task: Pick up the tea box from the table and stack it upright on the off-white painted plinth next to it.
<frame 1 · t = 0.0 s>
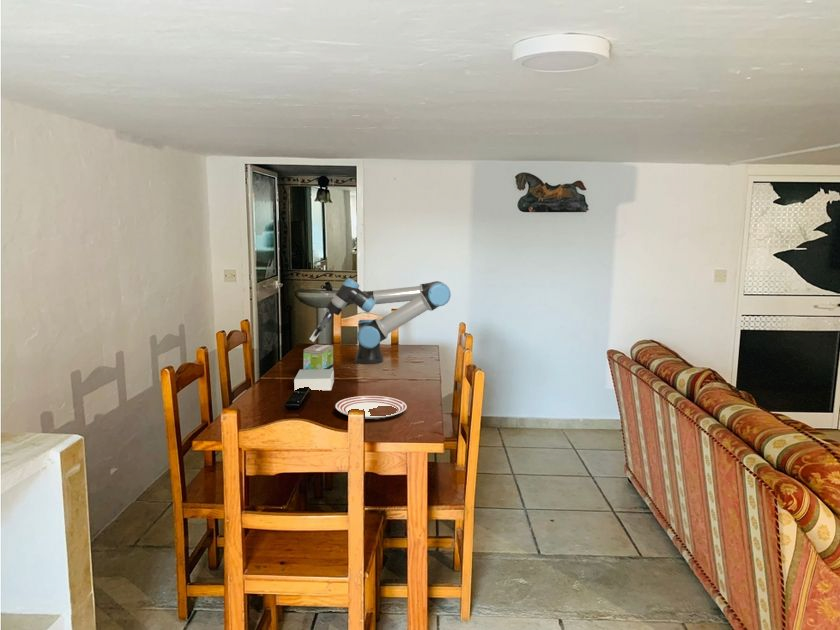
hand: (312, 338, 296), 15 cm above the table, tool tilted 35°, fingers open, 13 cm apart
dinner plate: (371, 413, 221), on the table
tea box: (318, 377, 278), on the table
plinth: (314, 386, 260), on the table
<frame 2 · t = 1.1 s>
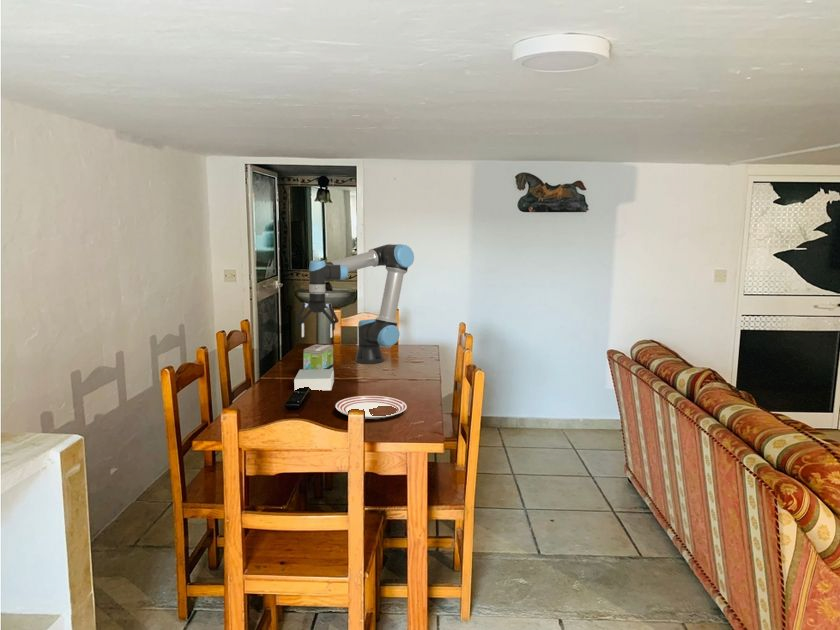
hand: (317, 337, 276), 19 cm above the table, tool pointing down, fingers open, 13 cm apart
nothing on the table moved.
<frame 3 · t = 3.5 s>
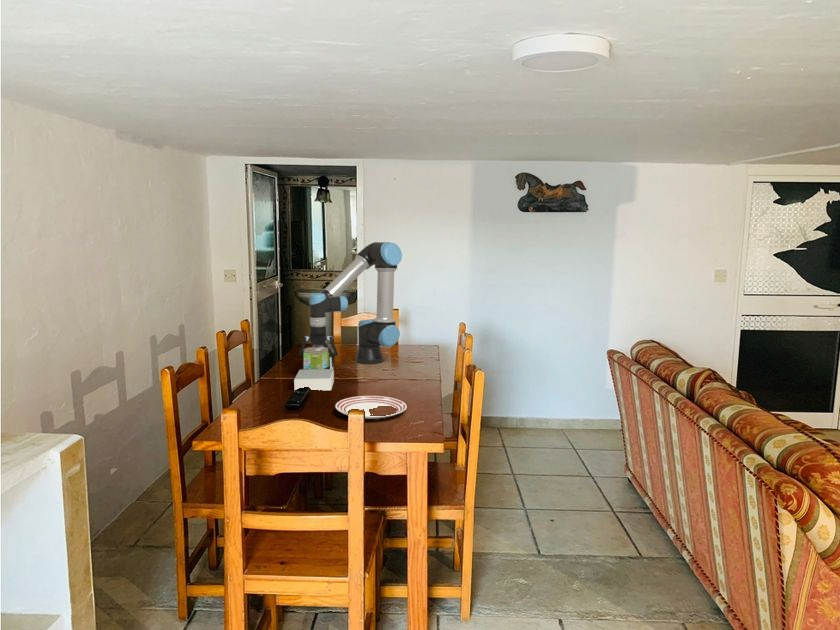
hand: (318, 370, 277), 3 cm above the table, tool pointing down, fingers closed on tea box, 11 cm apart
tea box: (318, 376, 278), on the table, touching gripper
everything else where it was.
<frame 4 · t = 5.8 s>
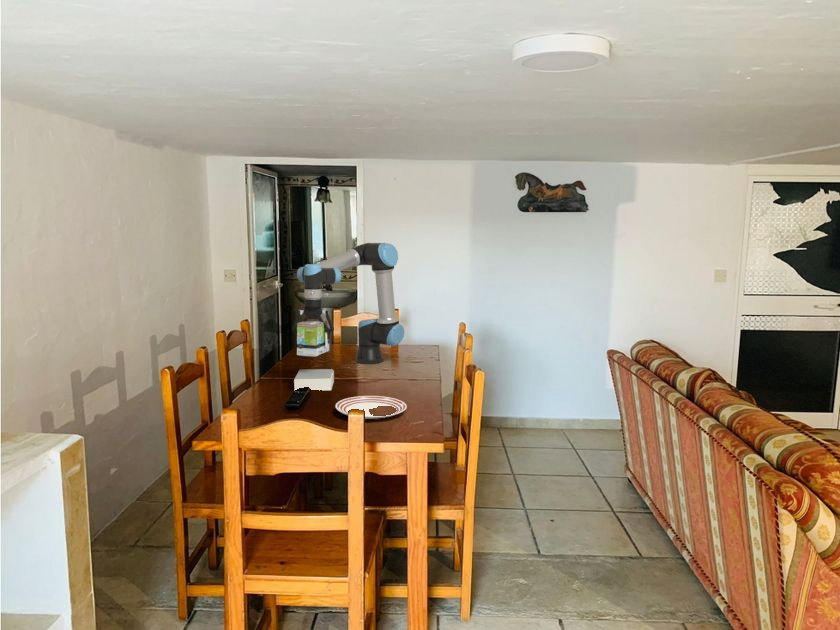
hand: (313, 346, 259), 18 cm above the table, tool pointing down, fingers closed on tea box, 11 cm apart
tea box: (313, 353, 260), point 15 cm above the table, touching gripper
everything else where it was.
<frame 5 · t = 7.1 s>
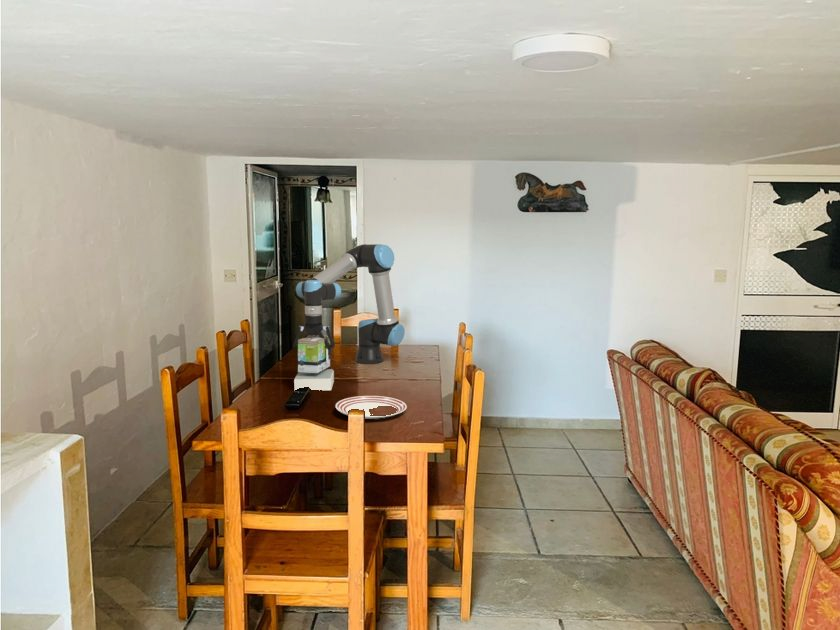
hand: (314, 362, 258), 11 cm above the table, tool pointing down, fingers closed on tea box, 11 cm apart
tea box: (314, 369, 259), point 8 cm above the table, touching gripper
everything else where it was.
when the fingers open (10 cm above the table, at t = 8.3 s): tea box stays where it is, resting on plinth.
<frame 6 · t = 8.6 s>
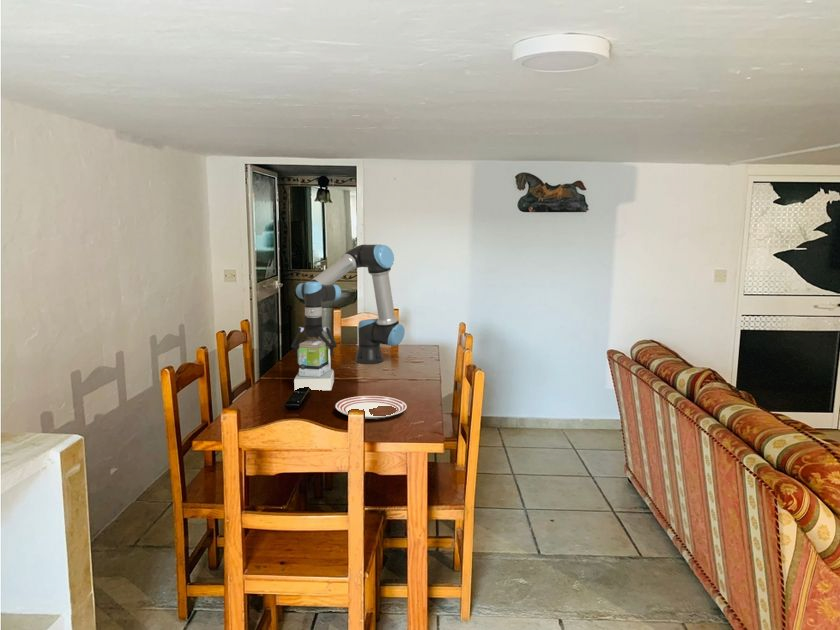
hand: (314, 362, 259), 11 cm above the table, tool pointing down, fingers open, 13 cm apart
tea box: (315, 373, 259), point 6 cm above the table, touching plinth
everything else where it was.
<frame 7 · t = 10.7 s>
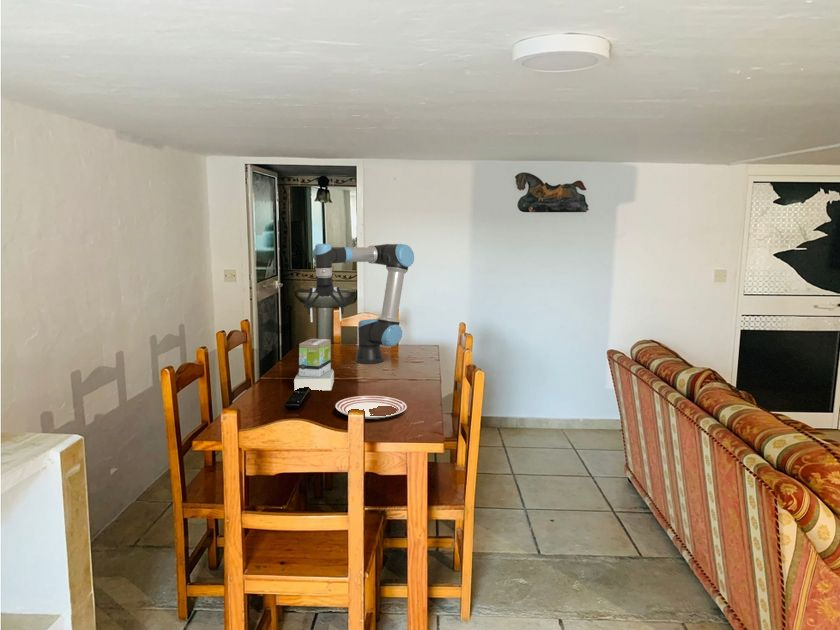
hand: (326, 321, 272), 27 cm above the table, tool pointing down, fingers open, 13 cm apart
nothing on the table moved.
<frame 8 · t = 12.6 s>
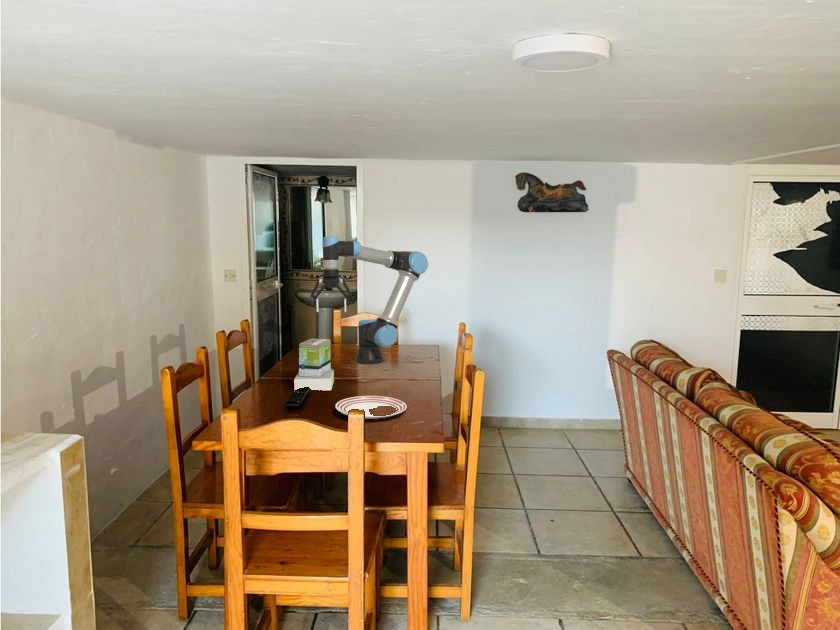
hand: (331, 311, 282), 31 cm above the table, tool pointing down, fingers open, 13 cm apart
nothing on the table moved.
at the end: tea box touching plinth; tea box tilted 0° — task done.
